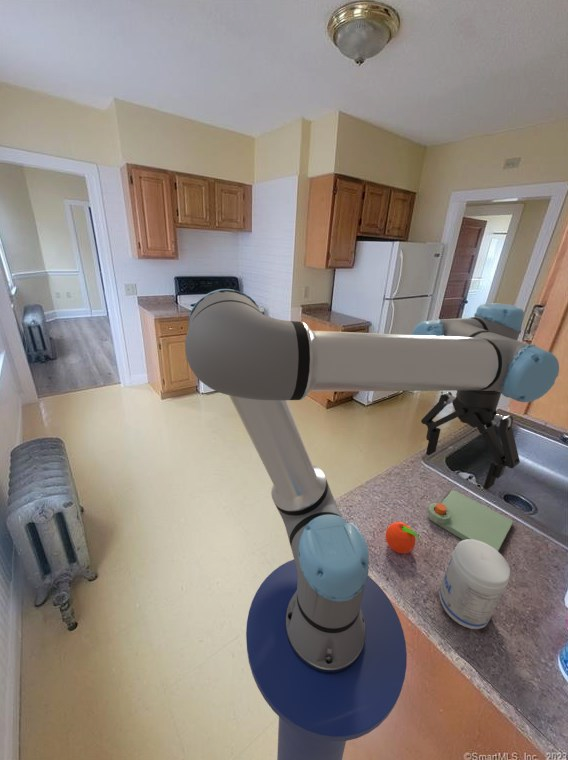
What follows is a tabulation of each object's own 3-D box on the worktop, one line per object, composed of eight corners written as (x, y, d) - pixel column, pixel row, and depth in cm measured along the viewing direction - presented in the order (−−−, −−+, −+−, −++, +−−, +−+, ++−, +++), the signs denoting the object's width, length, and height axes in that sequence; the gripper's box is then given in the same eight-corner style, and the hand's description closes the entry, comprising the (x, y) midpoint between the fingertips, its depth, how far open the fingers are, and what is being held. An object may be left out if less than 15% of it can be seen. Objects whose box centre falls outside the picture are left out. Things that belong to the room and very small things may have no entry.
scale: (423, 519, 89) (425, 509, 87) (447, 491, 99) (449, 482, 97) (492, 562, 77) (497, 552, 76) (511, 525, 87) (515, 515, 86)
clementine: (419, 545, 81) (424, 524, 78) (414, 567, 76) (420, 545, 73) (387, 531, 85) (391, 511, 82) (380, 551, 79) (385, 530, 76)
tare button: (433, 511, 87) (434, 506, 87) (437, 506, 89) (438, 501, 88) (442, 517, 86) (444, 512, 85) (446, 511, 87) (448, 507, 87)
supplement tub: (434, 579, 73) (449, 532, 67) (480, 589, 71) (500, 542, 65) (443, 625, 64) (462, 576, 58) (496, 638, 62) (520, 589, 56)
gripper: (564, 403, 56) (527, 495, 65) (435, 361, 75) (420, 436, 84) (545, 415, 53) (508, 511, 61) (415, 367, 72) (401, 446, 80)
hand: (457, 468), depth 73 cm, fingers open, 13 cm apart
